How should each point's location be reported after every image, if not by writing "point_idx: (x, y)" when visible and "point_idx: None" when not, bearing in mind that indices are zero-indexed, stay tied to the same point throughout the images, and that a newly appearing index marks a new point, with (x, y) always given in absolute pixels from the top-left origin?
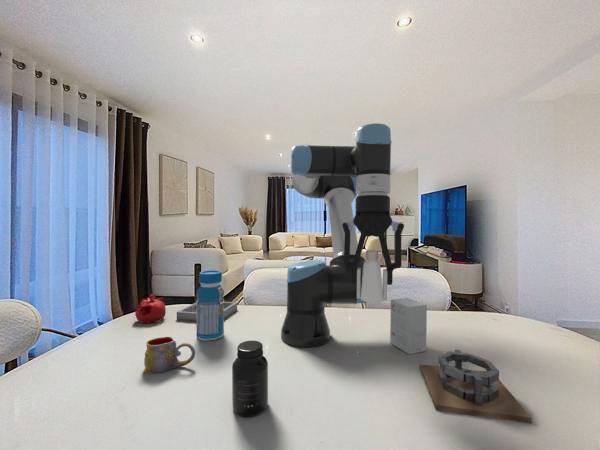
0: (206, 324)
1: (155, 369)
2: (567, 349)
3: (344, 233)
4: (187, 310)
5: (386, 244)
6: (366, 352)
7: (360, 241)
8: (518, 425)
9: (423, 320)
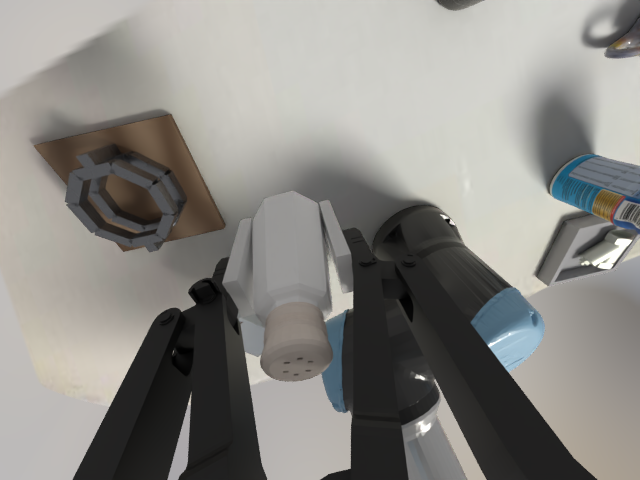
0: (610, 164)
1: None
2: (63, 356)
3: None
4: (633, 230)
5: (190, 425)
6: None
7: (383, 401)
8: (54, 128)
9: None
